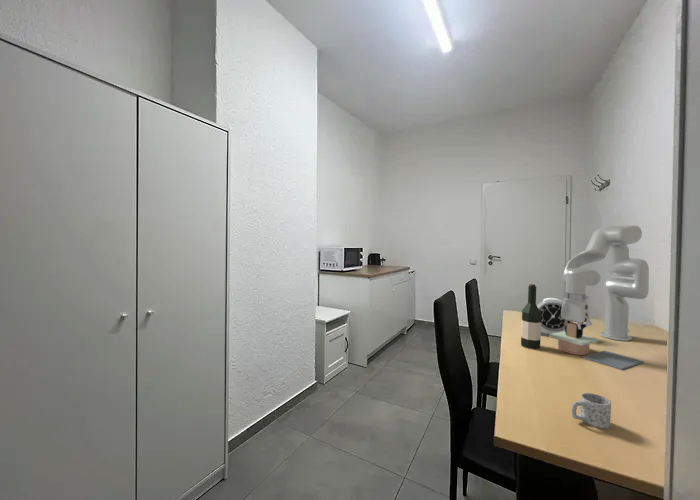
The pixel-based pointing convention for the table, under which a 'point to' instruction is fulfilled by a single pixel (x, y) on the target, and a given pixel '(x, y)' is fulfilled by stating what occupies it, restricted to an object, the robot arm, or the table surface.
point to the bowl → (573, 348)
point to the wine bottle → (531, 321)
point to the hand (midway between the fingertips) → (573, 335)
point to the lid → (573, 336)
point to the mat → (613, 360)
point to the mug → (593, 410)
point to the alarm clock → (551, 316)
